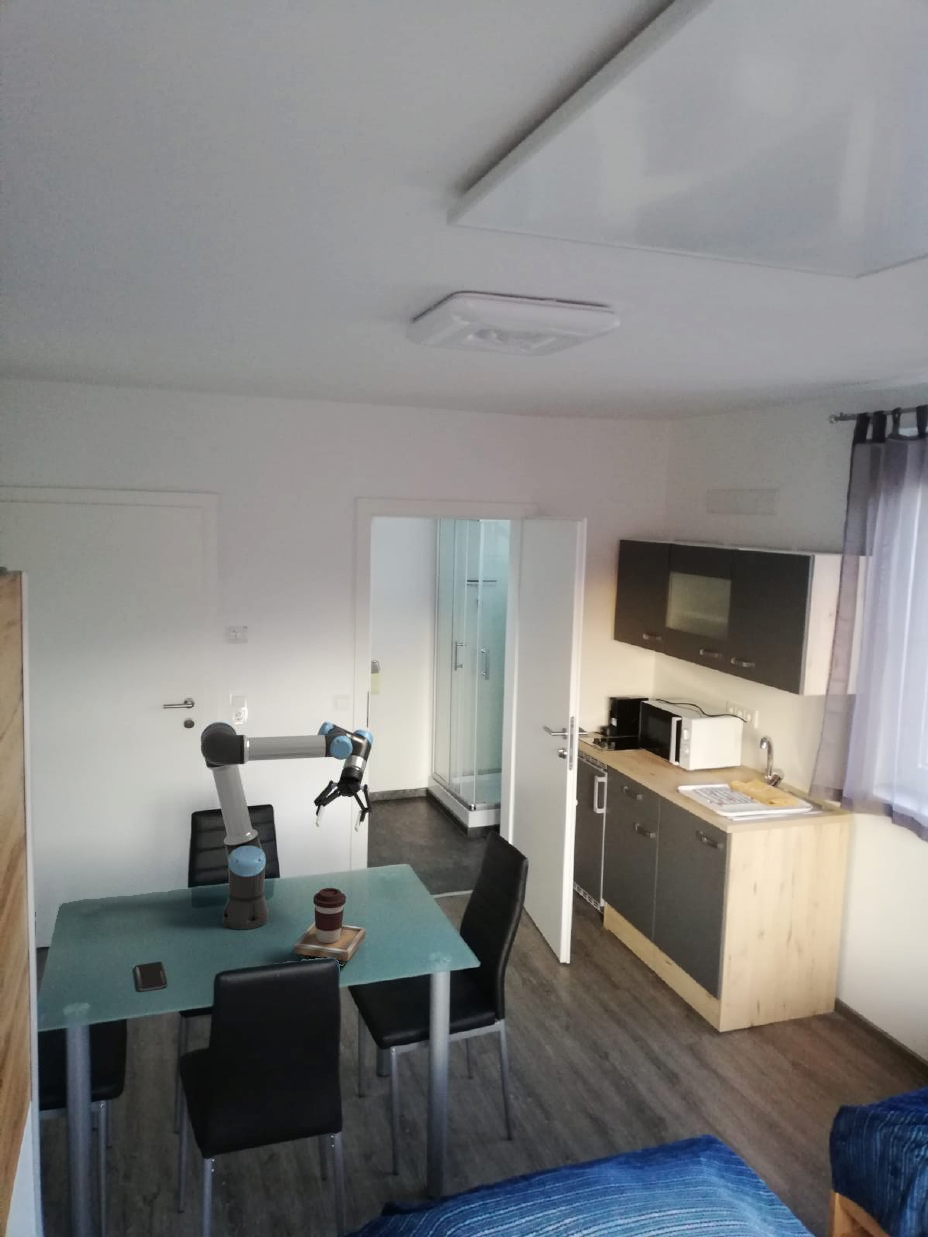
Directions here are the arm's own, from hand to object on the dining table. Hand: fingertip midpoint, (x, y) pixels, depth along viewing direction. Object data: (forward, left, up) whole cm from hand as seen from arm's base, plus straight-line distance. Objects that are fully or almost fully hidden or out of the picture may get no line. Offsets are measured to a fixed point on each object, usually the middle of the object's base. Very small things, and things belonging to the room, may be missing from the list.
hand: (336, 827), depth 297 cm
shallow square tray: (+7, -22, -33) cm, 40 cm away
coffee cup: (+6, -22, -28) cm, 36 cm away
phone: (-37, -51, -33) cm, 71 cm away
